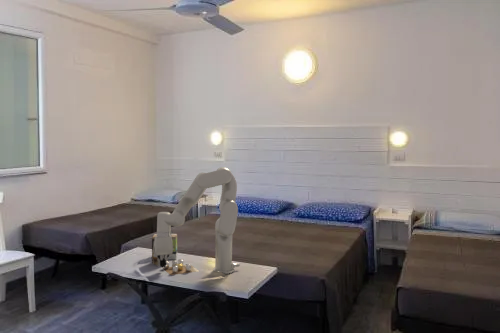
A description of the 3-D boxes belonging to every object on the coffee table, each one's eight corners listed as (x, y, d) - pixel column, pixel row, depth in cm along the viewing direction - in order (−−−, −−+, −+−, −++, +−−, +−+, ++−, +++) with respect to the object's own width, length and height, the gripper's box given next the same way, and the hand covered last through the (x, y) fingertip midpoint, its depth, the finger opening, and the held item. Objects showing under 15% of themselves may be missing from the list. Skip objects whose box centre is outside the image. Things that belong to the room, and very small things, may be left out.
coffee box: (151, 264, 257) (151, 238, 256) (161, 263, 261) (161, 237, 260) (158, 268, 250) (158, 241, 249) (168, 266, 254) (168, 239, 253)
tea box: (177, 255, 279) (177, 233, 278) (175, 259, 268) (176, 236, 268) (154, 255, 277) (154, 233, 277) (151, 260, 267) (151, 236, 267)
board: (190, 266, 255) (190, 264, 255) (199, 273, 241) (199, 271, 241) (162, 269, 247) (162, 267, 247) (170, 277, 233) (170, 275, 233)
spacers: (183, 265, 252) (183, 258, 252) (191, 272, 240) (191, 264, 240) (162, 268, 246) (162, 261, 246) (170, 274, 234) (170, 267, 234)
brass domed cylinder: (181, 268, 247) (181, 263, 246) (184, 270, 243) (184, 265, 242) (174, 269, 244) (174, 264, 244) (176, 271, 241) (176, 266, 240)
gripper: (174, 232, 245) (173, 263, 246) (148, 233, 238) (147, 266, 239) (178, 234, 238) (177, 267, 239) (152, 236, 231) (151, 269, 232)
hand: (162, 266), depth 239 cm, fingers closed
